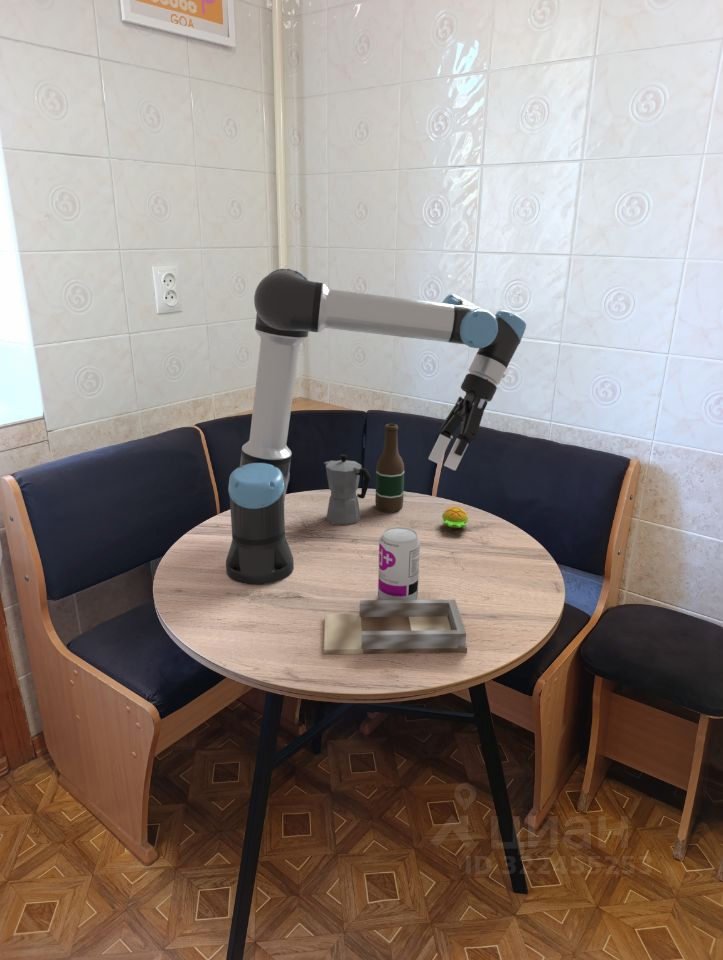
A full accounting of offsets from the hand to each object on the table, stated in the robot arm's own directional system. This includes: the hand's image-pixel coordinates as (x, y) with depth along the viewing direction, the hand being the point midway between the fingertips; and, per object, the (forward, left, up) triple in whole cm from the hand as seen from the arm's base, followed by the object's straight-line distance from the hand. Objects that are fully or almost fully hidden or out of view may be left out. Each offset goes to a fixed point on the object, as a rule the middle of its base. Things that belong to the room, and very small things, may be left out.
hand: (440, 464), depth 149 cm
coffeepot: (-21, +22, -23) cm, 38 cm away
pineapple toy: (+7, +16, -23) cm, 29 cm away
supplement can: (-11, -20, -23) cm, 33 cm away
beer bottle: (-9, +30, -23) cm, 39 cm away
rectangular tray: (-13, -33, -23) cm, 42 cm away
